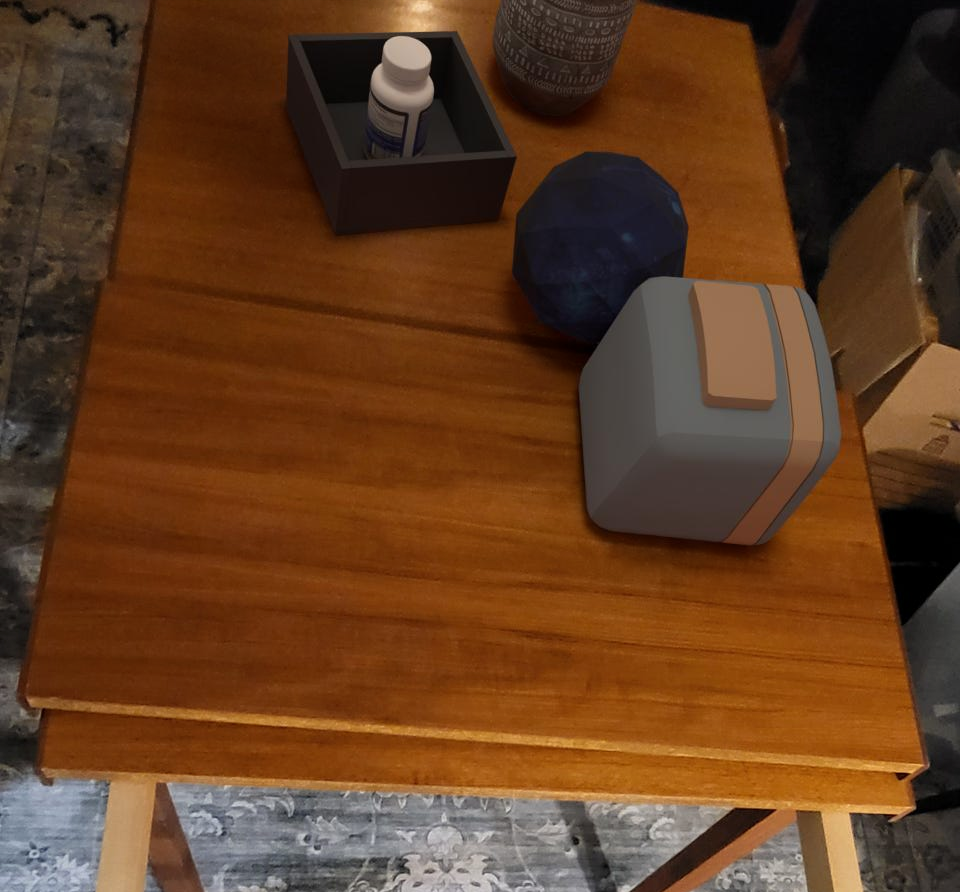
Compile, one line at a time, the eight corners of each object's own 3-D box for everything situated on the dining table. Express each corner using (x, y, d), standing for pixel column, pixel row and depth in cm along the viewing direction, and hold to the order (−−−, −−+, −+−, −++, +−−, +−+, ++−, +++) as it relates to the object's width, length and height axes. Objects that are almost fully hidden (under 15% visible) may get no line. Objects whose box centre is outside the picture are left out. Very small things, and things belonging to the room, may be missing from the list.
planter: (459, 71, 94) (488, -68, 83) (536, 30, 99) (573, -107, 88) (549, 147, 93) (591, 16, 81) (622, 101, 98) (672, -29, 86)
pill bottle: (406, 130, 88) (423, 26, 79) (431, 172, 87) (451, 70, 78) (353, 138, 86) (364, 32, 77) (377, 181, 85) (392, 78, 76)
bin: (335, 235, 82) (342, 168, 76) (285, 107, 87) (288, 34, 81) (498, 220, 87) (517, 156, 81) (443, 99, 92) (457, 30, 86)
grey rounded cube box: (769, 557, 79) (882, 442, 65) (582, 538, 76) (658, 413, 61) (744, 398, 85) (843, 262, 71) (571, 374, 82) (638, 226, 68)
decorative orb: (731, 313, 82) (720, 118, 72) (614, 386, 75) (585, 184, 66) (609, 297, 91) (586, 124, 82) (496, 361, 85) (457, 182, 76)
